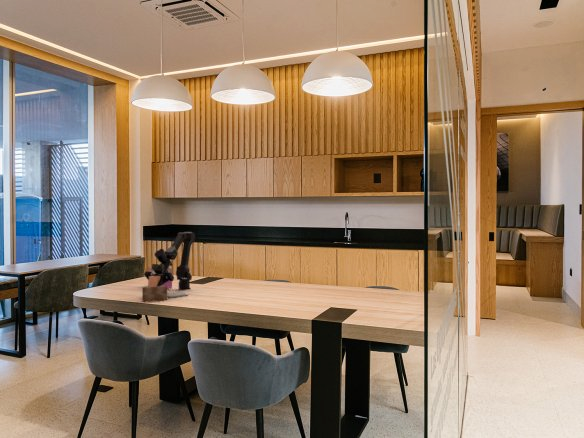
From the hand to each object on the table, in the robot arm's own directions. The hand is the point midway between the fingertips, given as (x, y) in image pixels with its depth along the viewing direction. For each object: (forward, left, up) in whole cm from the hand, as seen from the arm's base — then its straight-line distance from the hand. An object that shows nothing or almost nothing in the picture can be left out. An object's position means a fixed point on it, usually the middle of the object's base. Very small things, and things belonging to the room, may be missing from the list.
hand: (153, 287), depth 276 cm
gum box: (-19, -37, -7) cm, 42 cm away
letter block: (-1, -1, -7) cm, 7 cm away
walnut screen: (+2, +8, -7) cm, 10 cm away
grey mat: (-13, +1, -7) cm, 15 cm away
